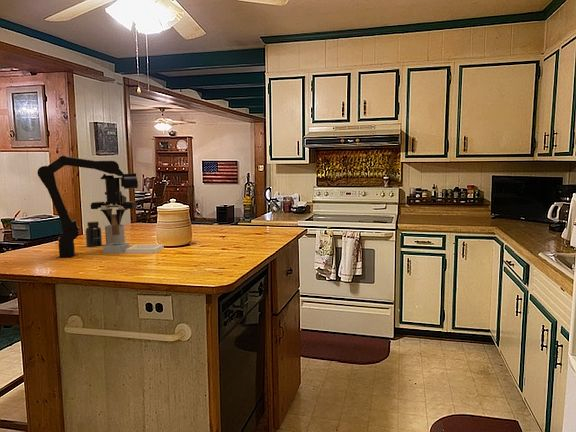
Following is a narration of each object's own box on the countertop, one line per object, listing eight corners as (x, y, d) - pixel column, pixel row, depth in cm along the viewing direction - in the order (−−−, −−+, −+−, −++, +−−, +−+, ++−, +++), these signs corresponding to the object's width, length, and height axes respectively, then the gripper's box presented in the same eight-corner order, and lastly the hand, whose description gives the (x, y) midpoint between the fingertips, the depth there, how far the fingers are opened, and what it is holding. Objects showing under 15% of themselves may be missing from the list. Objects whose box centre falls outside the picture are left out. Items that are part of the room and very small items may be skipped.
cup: (128, 244, 212) (127, 224, 211) (120, 248, 204) (118, 226, 203) (111, 244, 213) (110, 224, 212) (102, 247, 205) (101, 226, 204)
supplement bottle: (98, 248, 205) (96, 222, 203) (83, 248, 205) (82, 223, 203) (104, 245, 212) (103, 220, 210) (90, 245, 212) (89, 220, 210)
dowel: (117, 235, 192) (116, 215, 191) (111, 235, 192) (109, 215, 191) (120, 234, 195) (119, 214, 194) (114, 234, 195) (112, 214, 194)
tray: (155, 254, 189) (154, 249, 188) (125, 254, 189) (125, 249, 189) (163, 249, 200) (163, 244, 199) (135, 249, 200) (135, 244, 200)
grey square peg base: (121, 254, 190) (121, 246, 190) (103, 254, 191) (103, 246, 190) (129, 250, 198) (128, 242, 198) (112, 250, 199) (111, 242, 198)
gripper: (141, 188, 198) (143, 222, 200) (101, 188, 199) (103, 222, 201) (130, 189, 187) (133, 225, 189) (88, 190, 188) (91, 225, 190)
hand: (115, 224), depth 193 cm, fingers closed on dowel, 3 cm apart
